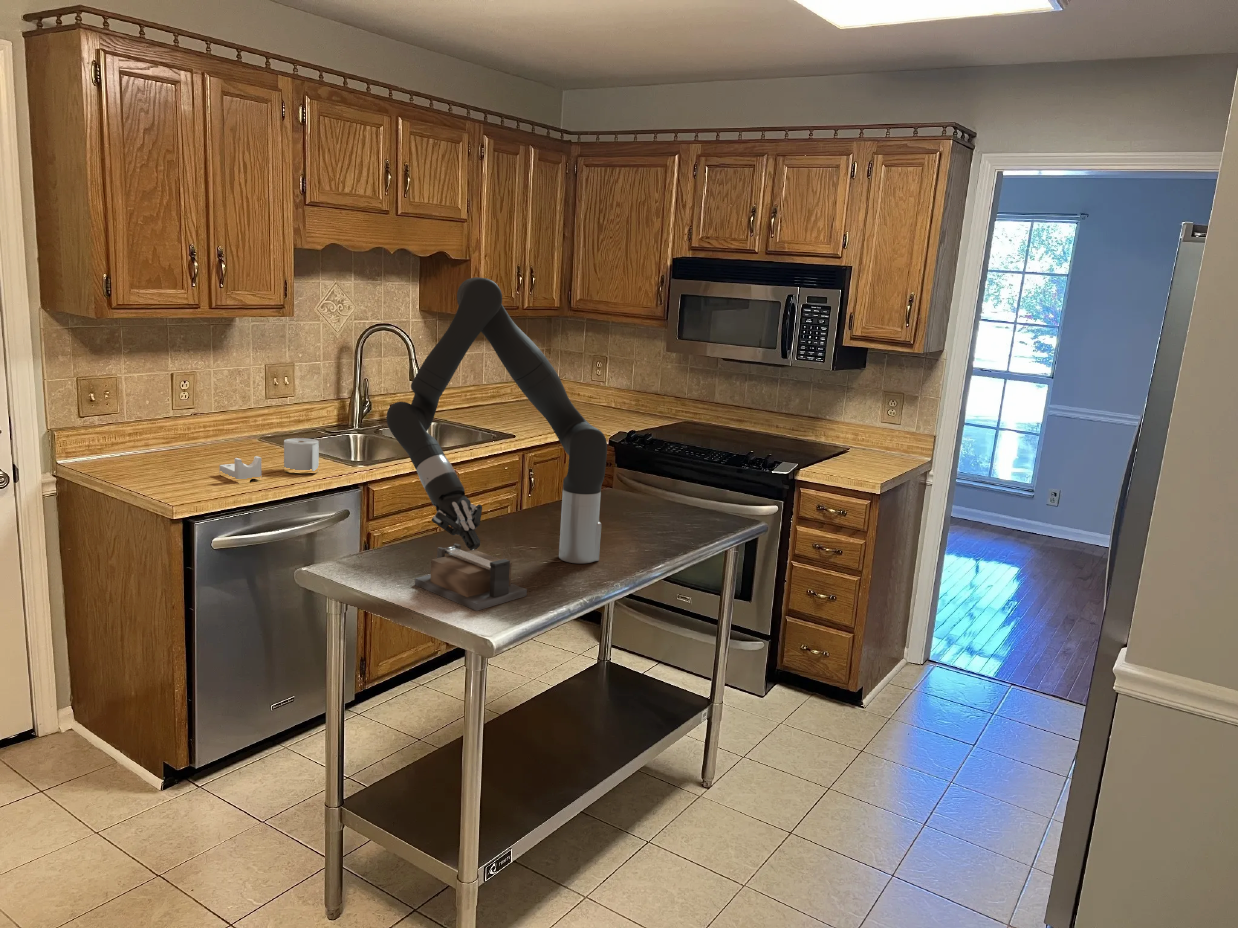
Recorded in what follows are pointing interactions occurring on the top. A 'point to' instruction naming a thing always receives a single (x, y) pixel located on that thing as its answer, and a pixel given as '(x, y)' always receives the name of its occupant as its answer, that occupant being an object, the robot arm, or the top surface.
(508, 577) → the latch block
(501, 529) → the top surface
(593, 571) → the top surface
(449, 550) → the strap
